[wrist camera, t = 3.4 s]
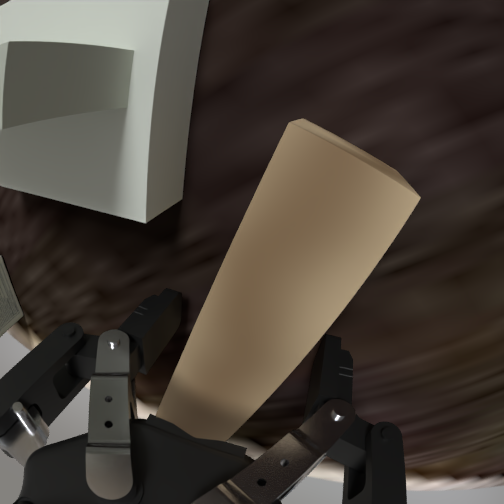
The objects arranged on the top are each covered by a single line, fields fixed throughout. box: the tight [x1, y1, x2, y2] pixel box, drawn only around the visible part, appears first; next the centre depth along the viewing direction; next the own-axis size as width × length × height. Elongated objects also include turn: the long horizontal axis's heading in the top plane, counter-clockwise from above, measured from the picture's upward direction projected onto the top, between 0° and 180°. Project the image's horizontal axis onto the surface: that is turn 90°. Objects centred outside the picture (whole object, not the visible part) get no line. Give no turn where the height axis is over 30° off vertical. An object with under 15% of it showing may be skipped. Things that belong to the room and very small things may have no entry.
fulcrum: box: [0, 0, 209, 223], centre depth 9 cm, size 12×10×8 cm
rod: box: [156, 119, 421, 442], centre depth 14 cm, size 4×18×4 cm, turn 156°
